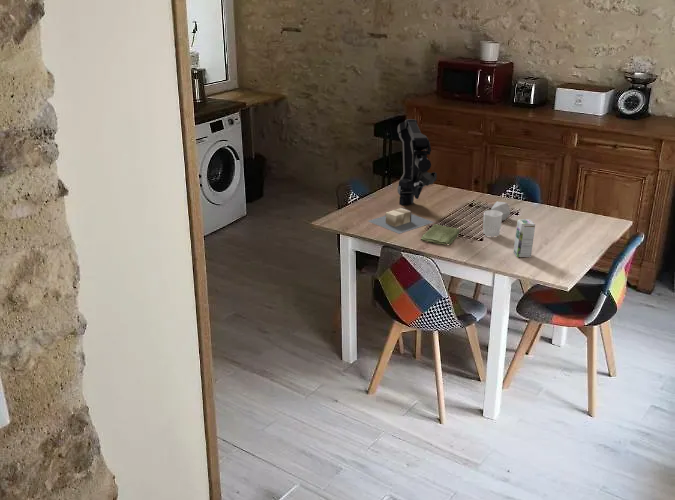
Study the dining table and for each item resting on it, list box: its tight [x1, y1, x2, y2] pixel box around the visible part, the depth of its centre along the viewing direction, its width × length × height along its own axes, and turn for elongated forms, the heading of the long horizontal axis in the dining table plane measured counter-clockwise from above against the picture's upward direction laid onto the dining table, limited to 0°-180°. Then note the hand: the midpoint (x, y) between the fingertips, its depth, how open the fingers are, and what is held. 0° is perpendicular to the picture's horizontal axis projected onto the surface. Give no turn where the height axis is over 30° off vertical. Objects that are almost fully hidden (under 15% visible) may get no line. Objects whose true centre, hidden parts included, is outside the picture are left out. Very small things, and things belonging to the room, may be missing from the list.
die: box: [490, 200, 511, 221], centre depth 320 cm, size 8×9×10 cm
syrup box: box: [513, 218, 536, 258], centre depth 280 cm, size 6×6×14 cm
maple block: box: [385, 207, 412, 227], centre depth 312 cm, size 5×6×10 cm
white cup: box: [482, 209, 503, 238], centre depth 301 cm, size 8×8×10 cm
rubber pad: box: [367, 213, 435, 235], centre depth 314 cm, size 22×20×1 cm
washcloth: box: [420, 223, 460, 246], centre depth 300 cm, size 13×18×3 cm
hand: (416, 198), depth 317 cm, fingers closed
